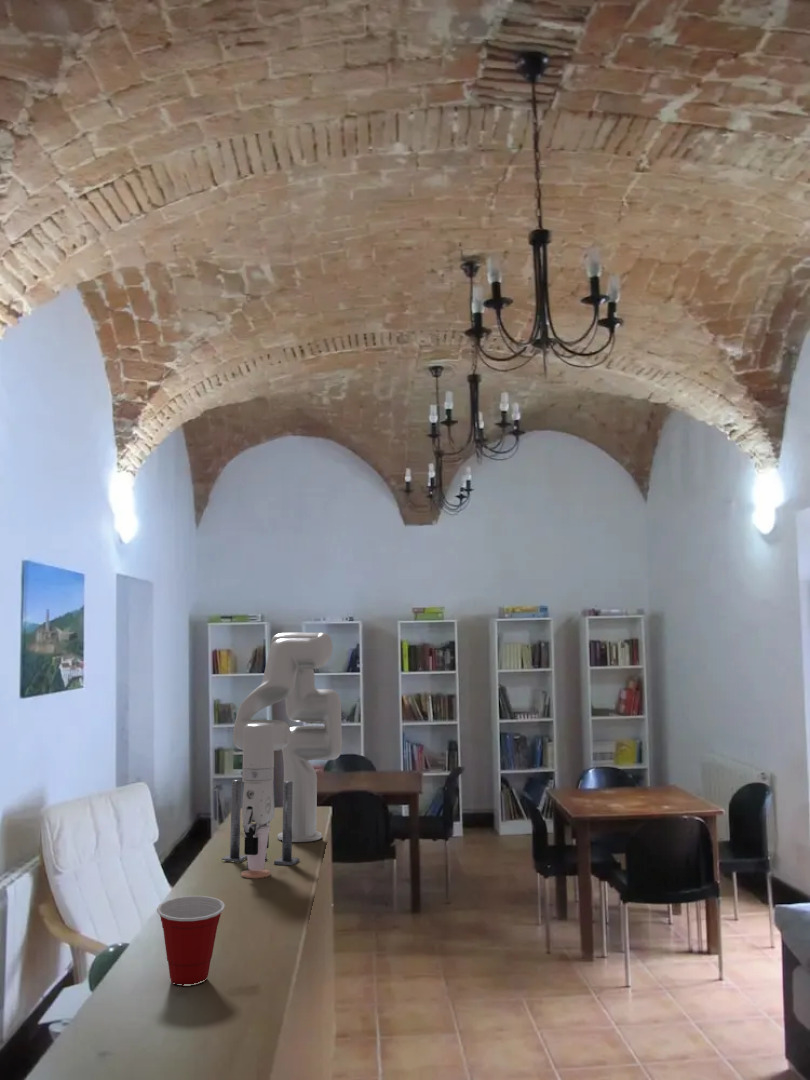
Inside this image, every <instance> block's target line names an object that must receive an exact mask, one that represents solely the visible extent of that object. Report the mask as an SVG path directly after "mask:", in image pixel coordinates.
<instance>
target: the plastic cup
mask: <svg viewBox="0 0 810 1080" xmlns="http://www.w3.org/2000/svg"><path fill="white" fill-rule="evenodd" d="M225 905H226V904H225V903H224V902H223V901H222V900H221V899H218V898H216V897H213V896H206V895H205V896H204V895H187V896H186V895H185V896H179V897H174V898H170V899H168V900H165V901H163V902H162V903H160V904H159V905H158V906H157V909H156V911H157V913H158V915H159V917H160V922H161V926H162V931H163V937H164V938H163V939H164V945H165V946H164V947H165V953H166V959H167V964H168V971H169V972H168V973H169V978H170V981H171V982H170V983H171V984H172V983H175V984H182V985H184V984H194V983H198V982H200V981H203V980H205V979H206V978H207V979H208V976H209V973H210V966H211V961H212V958H213V953H214V947H215V941H216V935H217V931H218V925H219V922H220V919H221V914H222V913H223V912H224V908H225Z"/></svg>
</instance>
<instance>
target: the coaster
mask: <svg viewBox="0 0 810 1080" xmlns="http://www.w3.org/2000/svg"><path fill="white" fill-rule="evenodd" d="M271 873H272V872H271V870H269V869H265V868H264V869H262V870H248V869H247V870H243V871H241V873H240V877H241V878H244V877H246V878H245V879H249V878H253V879H265V878H268V876H269V877H270V876H271ZM264 877H265V878H264ZM253 879H252V880H253Z"/></svg>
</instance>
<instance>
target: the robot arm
mask: <svg viewBox="0 0 810 1080" xmlns="http://www.w3.org/2000/svg"><path fill="white" fill-rule="evenodd" d="M332 654H333V641H332V639H331V636H330V635H329V634H328V633H326V632H304V631H302V632H301V631H300V632H299V631H298V632H297V631H295V632H294V631H293V632H292V631H291V632H290V631H289V632H288V631H287V632H280V633H277V634H275V635H273V636H272V638H271V641H270V647H269V651H268V655H267V660H266V664H265V668H264V672H263V677H262V681H261V684H260V685H258V687H256V688H255V689H253V690H252V691H251V692H250V693H249V694H248V695H247V696H246V697H245V698H244V699H243V701H242V702H241V703H240V704H239V707H238V710H237V713H236V717H235V721H234V725H233V731H232V740H233V744H234V745H235V747H236V748H237V749H238V750H242V769H241V770H242V777H241V778H242V780H241V783H242V782H243V783H244V784H243V791H242V793H243V794H242V804H241V805H242V807H241V808H242V809H241V819H242V827H243V831H244V832H243V836H244V853H243V854H244V855H257V854H258V837H257V831H258V825H268V826H270V822H271V821H273V820H274V818H275V795H274V794H275V793H274V792H275V791H274V774H275V773H274V771H275V770H274V768H275V766H274V765H275V751H282V759H283V760H282V761H283V782H286V781H292V782H293V802H292V843H307V842H315V841H318V840H320V839H322V836H323V834H322V832H320V831H317V823H318V822H317V814H318V813H317V811H318V810H317V808H318V807H317V805H318V804H317V800H318V799H317V795H318V775H317V772H316V770H315V768H314V766H313V765H312V764H311V763H310V761H334V760H336V759H338V758H339V757H340V756H341V754H342V748H343V736H342V735H343V734H342V733H343V732H342V730H343V729H342V728H343V727H342V703H341V697H340V695H339V694H338V692H337V691H336V690H334V689H331V688H316V685H315V671H314V670H317V669H320V668H322V667H323V666H324V665H325V664H327V662H328V661H329V660H330V658H331V656H332ZM284 700H285V714H286V716H287V719H288V720H289V721H291V722H296V723H322V724H323V726H321V725H320V726H317V725H316V726H314V725H295V726H291V727H290V726H289V724H288V723H287V722H285V721H284V720H279V719H278V720H277V719H252V718H253V717H254V716H255V715H256V714H257V713H259V712H260V711H261V710H263V709H266V708H267V707H270V706H272V705H275V704H276V703H279V702H282V701H284ZM252 827H254V831H253V829H252ZM282 836H283V831H282V832H279V833H278V834H277V840H278V841H281V840H282ZM269 840H270V835H268V842H267V849H269V847H270V846H269V844H270V843H269V842H270V841H269Z"/></svg>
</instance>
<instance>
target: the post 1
mask: <svg viewBox="0 0 810 1080" xmlns="http://www.w3.org/2000/svg"><path fill="white" fill-rule="evenodd" d="M230 798H231V801H230V803H231V804H230V840H229V843H230V844H229V847H230V848H229V849H230V850H229V854H227V855H226V856H224V857H222V858H221V861H222V860H225V861H234V862H233V863H236V862H240V863H242V862H244V861H245V860H244V859H246V858H247V855H245V854H241V853H240V852H241V851H240V850H241V849H240V848H241V847H240V845H241V812H242V809H241V808H242V807H241V805H242V804H241V803H242V799H241V798H242V780H241V779H233V780H231V795H230ZM243 860H244V861H243ZM246 860H247V859H246ZM241 861H242V862H241Z"/></svg>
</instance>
